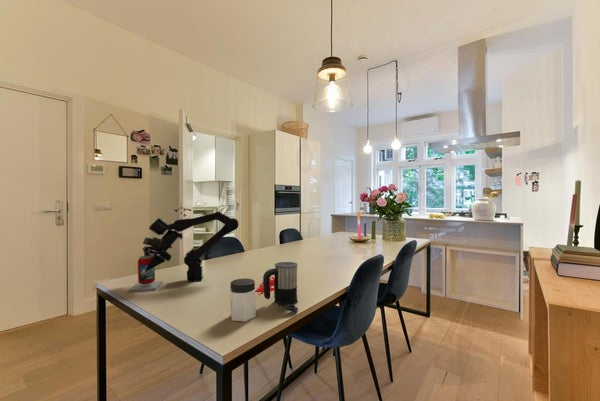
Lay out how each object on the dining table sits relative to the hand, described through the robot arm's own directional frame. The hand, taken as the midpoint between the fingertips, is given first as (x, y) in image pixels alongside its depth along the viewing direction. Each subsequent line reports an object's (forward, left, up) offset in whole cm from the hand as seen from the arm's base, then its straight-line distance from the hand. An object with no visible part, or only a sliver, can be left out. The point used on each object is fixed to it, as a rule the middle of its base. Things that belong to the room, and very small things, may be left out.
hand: (143, 268), depth 128 cm
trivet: (-1, -1, -9) cm, 9 cm away
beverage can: (-1, -1, -7) cm, 7 cm away
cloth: (-56, +8, -10) cm, 58 cm away
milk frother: (-61, +34, -9) cm, 70 cm away
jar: (-45, +40, -9) cm, 61 cm away
